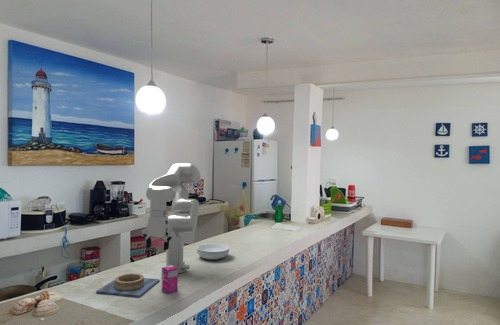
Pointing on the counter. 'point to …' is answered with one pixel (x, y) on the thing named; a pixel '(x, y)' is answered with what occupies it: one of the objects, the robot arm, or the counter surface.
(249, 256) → the counter surface
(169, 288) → the supplement box
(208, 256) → the serving bowl
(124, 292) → the collar
